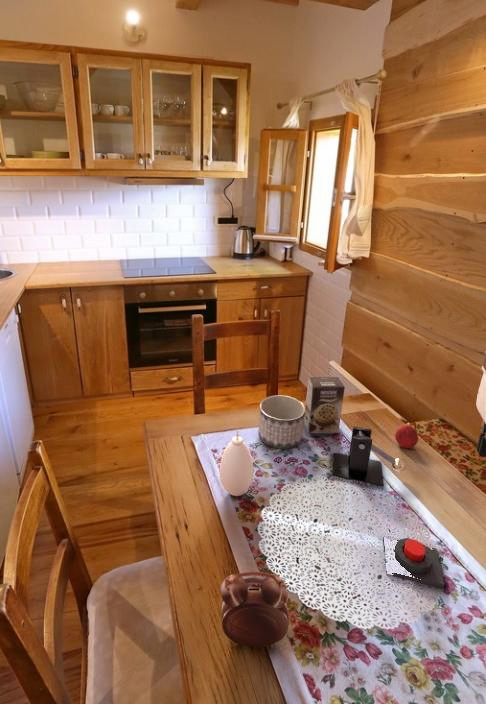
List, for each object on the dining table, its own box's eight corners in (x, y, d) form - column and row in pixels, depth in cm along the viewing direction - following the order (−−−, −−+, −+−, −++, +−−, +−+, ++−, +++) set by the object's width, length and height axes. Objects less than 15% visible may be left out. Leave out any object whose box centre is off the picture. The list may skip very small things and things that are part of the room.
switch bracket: (380, 464, 107) (386, 427, 103) (382, 489, 99) (390, 449, 95) (333, 456, 110) (337, 419, 106) (331, 478, 102) (336, 439, 98)
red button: (422, 548, 81) (423, 541, 80) (425, 564, 77) (426, 557, 77) (402, 543, 82) (404, 537, 81) (404, 559, 78) (406, 552, 78)
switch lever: (399, 468, 103) (407, 461, 101) (400, 477, 100) (409, 469, 98) (352, 436, 103) (360, 428, 102) (352, 444, 100) (361, 436, 99)
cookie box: (308, 435, 118) (313, 387, 113) (303, 422, 124) (307, 376, 119) (339, 435, 119) (345, 387, 113) (332, 422, 125) (338, 375, 119)
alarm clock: (283, 623, 70) (289, 560, 64) (287, 654, 65) (293, 589, 60) (220, 620, 70) (221, 557, 65) (219, 651, 66) (220, 586, 60)
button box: (435, 552, 83) (438, 541, 82) (443, 589, 75) (446, 578, 74) (382, 540, 85) (385, 529, 84) (386, 574, 78) (388, 563, 77)
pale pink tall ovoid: (258, 489, 99) (261, 426, 92) (241, 510, 93) (243, 444, 86) (231, 476, 103) (232, 415, 96) (213, 495, 97) (213, 432, 90)
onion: (420, 451, 112) (425, 427, 109) (404, 456, 110) (409, 432, 107) (404, 439, 117) (409, 415, 114) (388, 443, 115) (393, 420, 112)
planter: (292, 458, 109) (295, 425, 106) (250, 442, 115) (251, 411, 112) (308, 433, 119) (311, 403, 116) (269, 420, 126) (271, 391, 122)
